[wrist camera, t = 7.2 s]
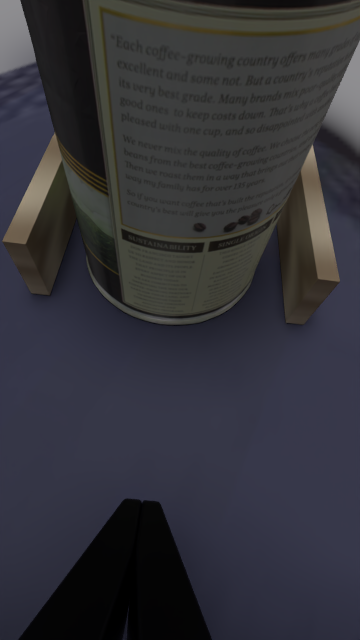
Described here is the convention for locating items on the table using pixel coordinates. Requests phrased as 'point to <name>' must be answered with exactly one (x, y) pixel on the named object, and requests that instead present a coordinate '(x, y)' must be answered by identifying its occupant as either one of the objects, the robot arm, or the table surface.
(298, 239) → the corral
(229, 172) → the coffee can
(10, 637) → the table surface
